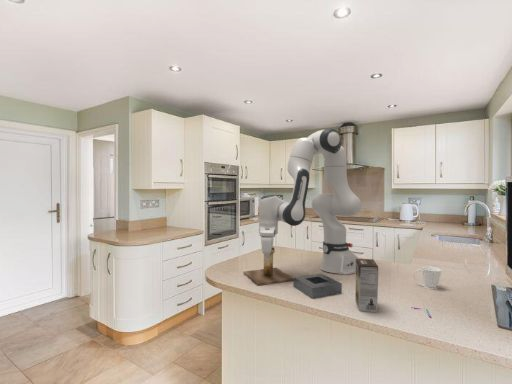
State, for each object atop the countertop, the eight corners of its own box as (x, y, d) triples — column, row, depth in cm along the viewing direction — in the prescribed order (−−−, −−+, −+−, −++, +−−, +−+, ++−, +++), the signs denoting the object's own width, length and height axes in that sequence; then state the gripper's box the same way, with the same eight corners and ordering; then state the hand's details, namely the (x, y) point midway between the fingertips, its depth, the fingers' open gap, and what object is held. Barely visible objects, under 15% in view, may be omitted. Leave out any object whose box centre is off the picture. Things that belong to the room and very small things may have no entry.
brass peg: (262, 272, 134) (263, 245, 134) (274, 273, 134) (275, 246, 133) (261, 276, 129) (262, 248, 128) (273, 277, 128) (274, 249, 128)
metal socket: (320, 282, 125) (320, 273, 125) (341, 293, 112) (341, 283, 112) (293, 286, 119) (293, 276, 119) (312, 298, 107) (312, 288, 106)
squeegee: (406, 297, 107) (421, 299, 106) (406, 299, 107) (421, 301, 106) (414, 314, 93) (431, 317, 91) (414, 316, 93) (431, 319, 91)
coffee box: (354, 300, 105) (355, 258, 105) (372, 301, 104) (373, 259, 103) (358, 311, 96) (359, 264, 96) (378, 312, 95) (379, 266, 94)
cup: (442, 291, 114) (442, 272, 114) (414, 287, 119) (414, 268, 119) (439, 286, 121) (439, 267, 121) (413, 282, 125) (413, 264, 125)
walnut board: (276, 269, 143) (276, 267, 143) (294, 280, 127) (294, 278, 126) (243, 273, 136) (243, 271, 136) (257, 285, 120) (257, 283, 120)
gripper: (263, 226, 142) (263, 253, 142) (259, 233, 121) (259, 264, 122) (276, 226, 141) (276, 253, 141) (273, 233, 120) (273, 265, 121)
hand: (268, 258), depth 131 cm, fingers open, 6 cm apart
